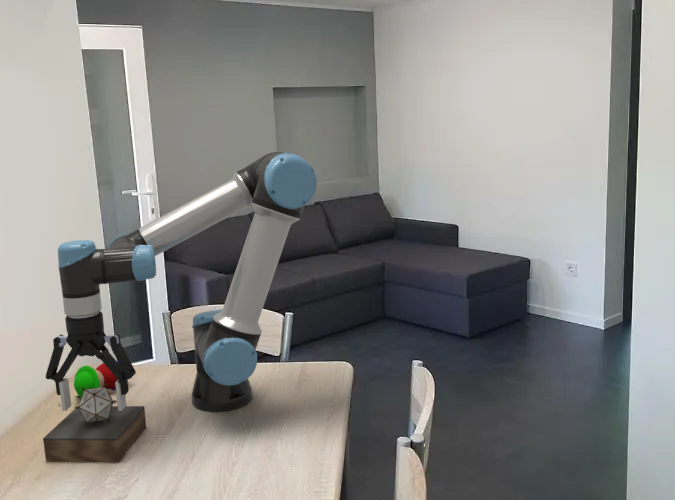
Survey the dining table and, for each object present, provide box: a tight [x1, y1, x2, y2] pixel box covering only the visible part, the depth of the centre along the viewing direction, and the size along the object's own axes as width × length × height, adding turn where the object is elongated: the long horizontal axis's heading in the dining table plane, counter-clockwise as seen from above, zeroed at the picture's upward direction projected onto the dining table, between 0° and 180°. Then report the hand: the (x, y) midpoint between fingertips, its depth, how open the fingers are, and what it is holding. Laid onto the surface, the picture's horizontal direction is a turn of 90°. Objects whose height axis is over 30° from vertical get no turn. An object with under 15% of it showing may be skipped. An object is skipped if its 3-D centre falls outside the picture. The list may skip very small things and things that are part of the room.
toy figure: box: [73, 360, 119, 400], centre depth 177 cm, size 9×10×15 cm
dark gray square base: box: [42, 405, 147, 463], centre depth 149 cm, size 16×16×5 cm
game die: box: [74, 384, 117, 426], centre depth 148 cm, size 9×8×10 cm
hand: (94, 408), depth 148 cm, fingers open, 12 cm apart
